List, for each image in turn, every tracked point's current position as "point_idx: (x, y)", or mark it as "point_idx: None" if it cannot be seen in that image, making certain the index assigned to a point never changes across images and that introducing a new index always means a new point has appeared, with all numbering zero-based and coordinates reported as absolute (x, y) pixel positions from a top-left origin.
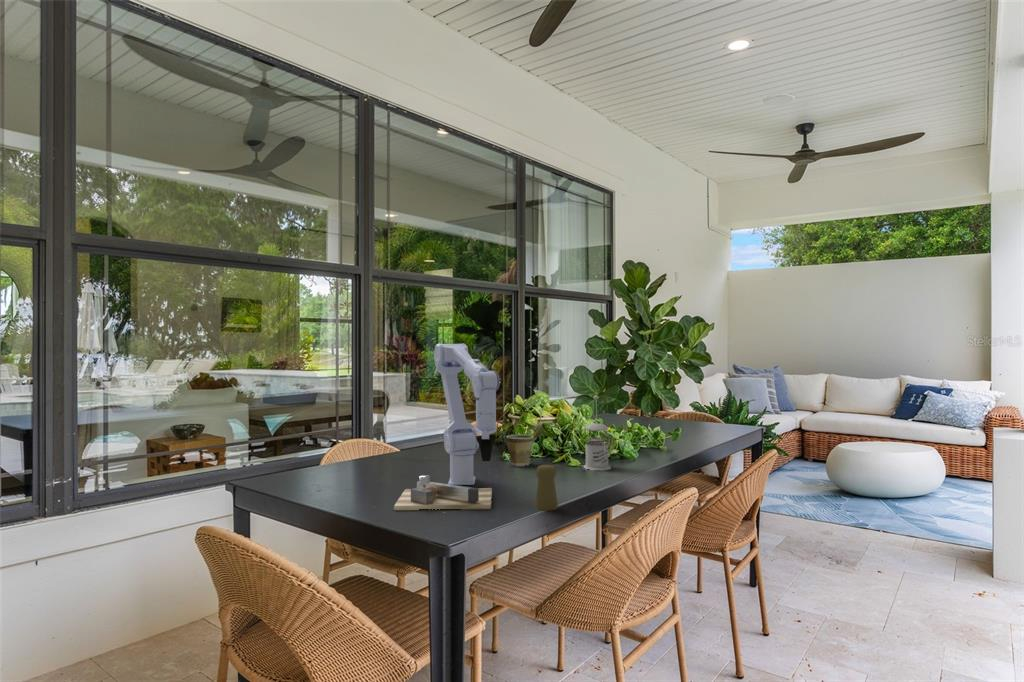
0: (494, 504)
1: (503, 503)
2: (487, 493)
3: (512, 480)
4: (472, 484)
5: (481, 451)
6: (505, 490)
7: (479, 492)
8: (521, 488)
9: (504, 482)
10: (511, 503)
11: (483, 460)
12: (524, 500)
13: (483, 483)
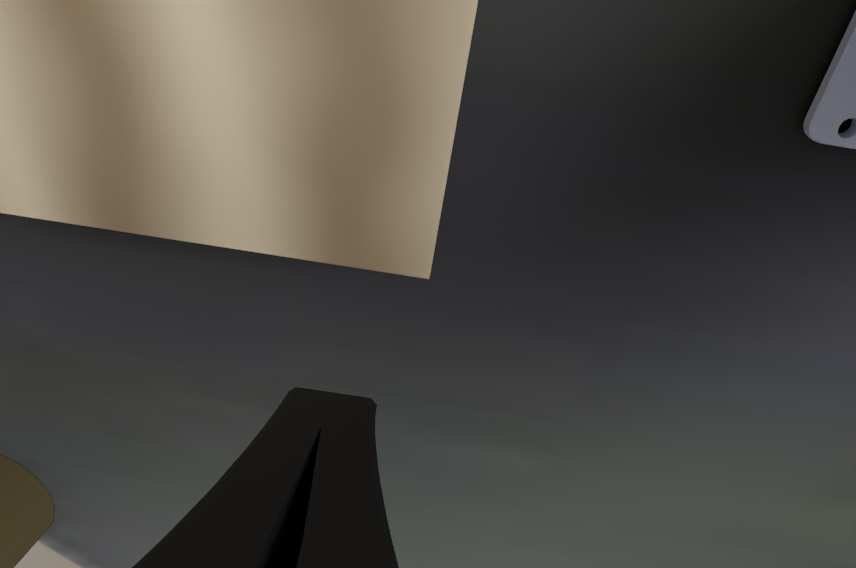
0: (5, 217)
1: (47, 287)
2: (214, 210)
3: (812, 467)
4: (806, 117)
5: (190, 522)
6: (477, 367)
7: (258, 139)
8: (511, 471)
9: (772, 406)
10: (55, 338)
11: (283, 404)
12: (149, 426)
13: (834, 237)
